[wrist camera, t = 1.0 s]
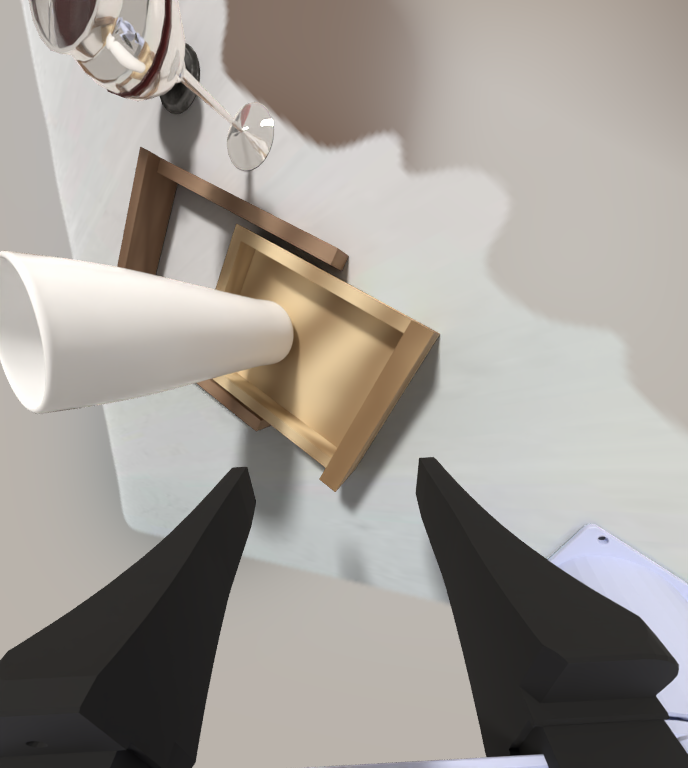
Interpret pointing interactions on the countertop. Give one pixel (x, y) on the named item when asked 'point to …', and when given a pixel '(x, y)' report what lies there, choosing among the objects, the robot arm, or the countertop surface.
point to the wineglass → (143, 59)
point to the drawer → (323, 355)
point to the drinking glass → (123, 332)
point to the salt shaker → (182, 86)
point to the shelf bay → (150, 226)
